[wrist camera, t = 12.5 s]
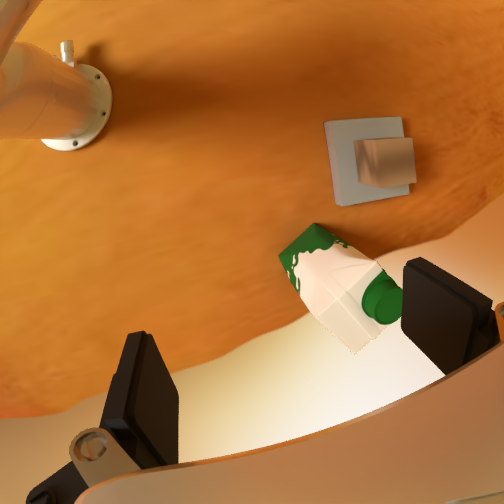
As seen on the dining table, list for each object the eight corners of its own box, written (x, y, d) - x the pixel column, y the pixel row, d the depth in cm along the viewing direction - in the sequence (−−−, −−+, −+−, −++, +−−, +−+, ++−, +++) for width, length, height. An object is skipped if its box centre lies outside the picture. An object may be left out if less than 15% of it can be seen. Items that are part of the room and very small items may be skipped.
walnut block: (353, 140, 39) (375, 140, 33) (388, 137, 39) (412, 137, 34) (358, 182, 41) (380, 188, 35) (392, 177, 41) (416, 182, 36)
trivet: (323, 122, 40) (330, 121, 38) (392, 117, 41) (401, 116, 39) (335, 203, 44) (342, 206, 42) (400, 191, 45) (409, 193, 43)
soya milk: (347, 254, 47) (423, 315, 28) (304, 293, 48) (360, 373, 29) (314, 213, 44) (389, 260, 25) (268, 256, 45) (314, 330, 26)
